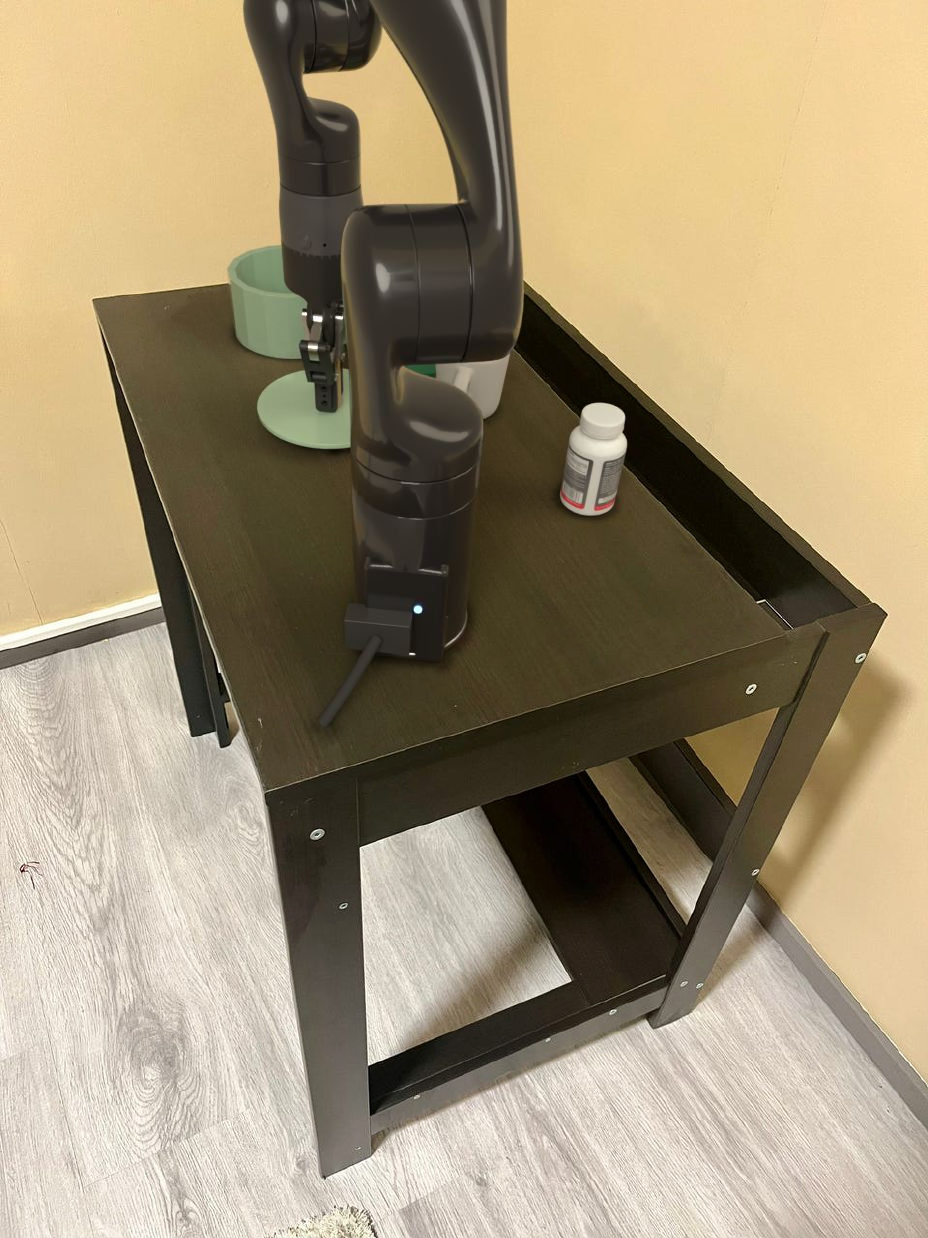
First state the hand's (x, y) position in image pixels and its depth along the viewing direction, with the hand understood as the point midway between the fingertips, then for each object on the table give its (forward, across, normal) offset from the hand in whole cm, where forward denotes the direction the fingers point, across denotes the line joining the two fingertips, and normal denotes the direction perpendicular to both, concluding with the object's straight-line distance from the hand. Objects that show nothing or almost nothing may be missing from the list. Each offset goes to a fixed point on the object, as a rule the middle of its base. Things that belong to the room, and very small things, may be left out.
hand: (329, 401), depth 94 cm
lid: (+1, 0, 0) cm, 1 cm away
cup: (+3, +4, -14) cm, 15 cm away
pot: (+3, +19, +8) cm, 21 cm away
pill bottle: (+3, -9, -27) cm, 29 cm away
